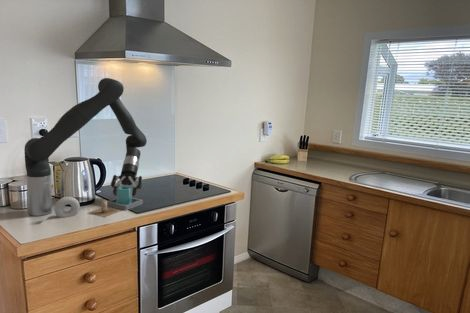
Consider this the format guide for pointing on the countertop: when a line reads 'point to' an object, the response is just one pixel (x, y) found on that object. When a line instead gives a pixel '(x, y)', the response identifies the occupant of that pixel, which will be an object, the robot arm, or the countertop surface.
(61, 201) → the donut
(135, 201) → the grey square ring
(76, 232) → the countertop surface
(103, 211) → the stake stand
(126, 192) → the sleeve
